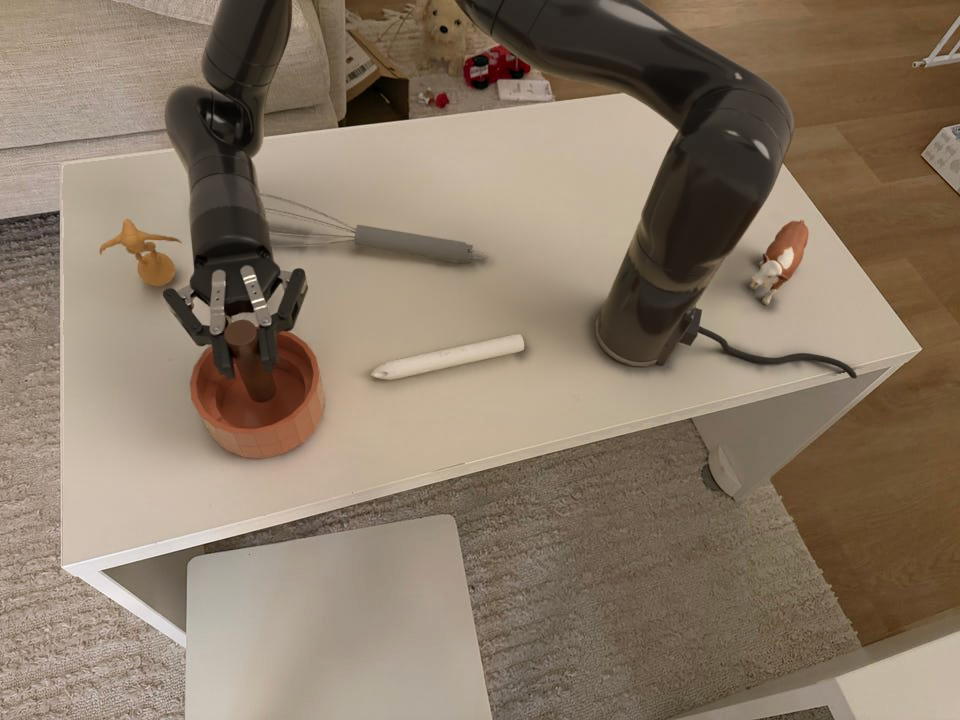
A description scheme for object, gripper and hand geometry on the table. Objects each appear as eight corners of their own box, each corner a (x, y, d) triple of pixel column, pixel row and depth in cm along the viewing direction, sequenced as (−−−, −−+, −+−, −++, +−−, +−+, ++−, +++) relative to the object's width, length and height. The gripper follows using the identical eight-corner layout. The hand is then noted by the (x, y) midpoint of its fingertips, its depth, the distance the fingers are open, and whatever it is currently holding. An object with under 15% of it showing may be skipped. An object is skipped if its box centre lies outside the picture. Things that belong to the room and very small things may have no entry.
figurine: (196, 261, 81) (167, 189, 71) (200, 300, 78) (169, 230, 68) (124, 272, 80) (82, 199, 69) (124, 312, 77) (81, 242, 66)
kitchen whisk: (486, 281, 84) (491, 247, 79) (217, 250, 83) (204, 214, 77) (489, 244, 87) (494, 210, 82) (230, 215, 86) (218, 178, 81)
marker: (373, 387, 75) (372, 376, 73) (369, 371, 76) (368, 360, 74) (522, 354, 79) (525, 343, 77) (517, 339, 80) (519, 328, 78)
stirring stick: (260, 375, 70) (237, 314, 60) (282, 387, 69) (262, 327, 60) (243, 395, 68) (217, 336, 59) (265, 407, 68) (243, 350, 59)
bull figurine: (727, 305, 86) (755, 264, 79) (768, 246, 92) (797, 204, 85) (757, 323, 85) (788, 284, 78) (797, 262, 91) (829, 221, 84)
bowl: (344, 379, 75) (339, 348, 69) (292, 477, 68) (282, 451, 63) (243, 345, 76) (231, 311, 70) (183, 437, 69) (164, 408, 64)
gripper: (144, 213, 63) (152, 365, 55) (294, 194, 66) (322, 334, 58) (168, 264, 70) (178, 407, 61) (304, 244, 73) (331, 377, 65)
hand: (248, 370), depth 60 cm, fingers closed on stirring stick, 2 cm apart
